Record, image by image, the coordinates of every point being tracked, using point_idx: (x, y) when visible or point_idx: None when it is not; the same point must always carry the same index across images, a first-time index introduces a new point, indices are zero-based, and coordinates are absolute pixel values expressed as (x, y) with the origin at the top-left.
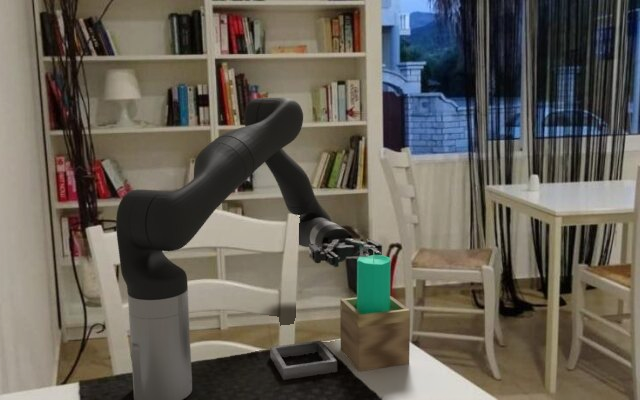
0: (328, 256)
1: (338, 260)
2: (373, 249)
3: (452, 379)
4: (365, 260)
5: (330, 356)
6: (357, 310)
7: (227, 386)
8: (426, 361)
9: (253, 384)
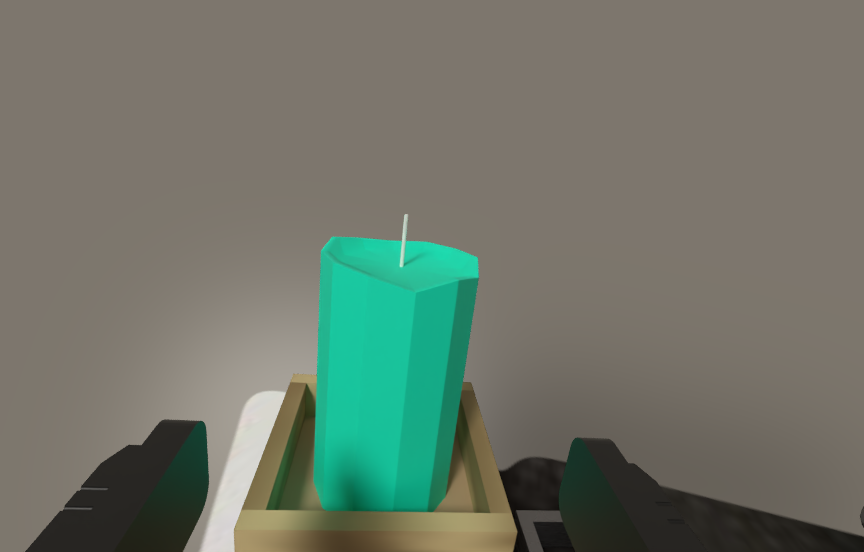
0: (679, 513)
1: (568, 458)
2: (116, 512)
3: (256, 431)
4: (433, 279)
5: (534, 542)
6: (465, 414)
7: (797, 548)
8: (233, 517)
9: (730, 538)
